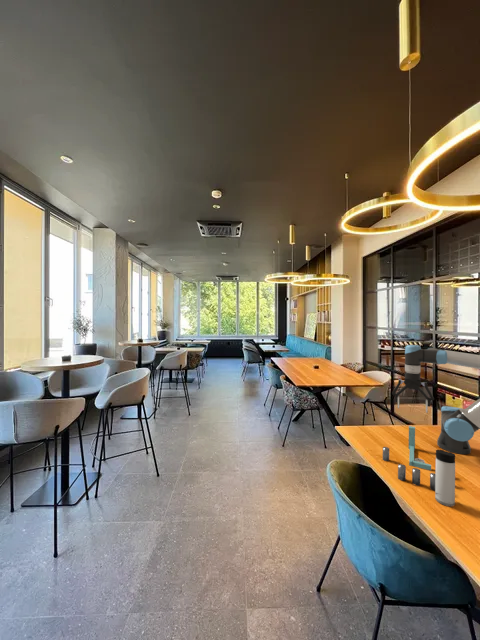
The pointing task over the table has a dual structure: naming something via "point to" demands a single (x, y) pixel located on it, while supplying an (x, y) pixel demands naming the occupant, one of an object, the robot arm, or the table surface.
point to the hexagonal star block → (419, 460)
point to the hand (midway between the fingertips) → (412, 409)
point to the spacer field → (414, 472)
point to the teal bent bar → (412, 448)
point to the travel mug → (445, 478)
